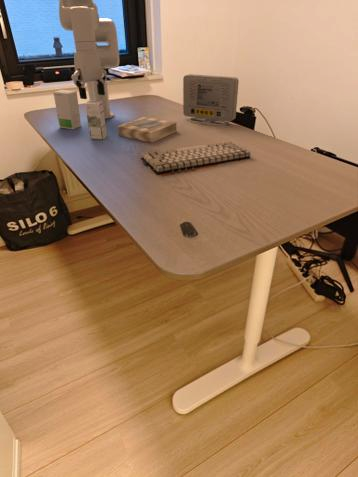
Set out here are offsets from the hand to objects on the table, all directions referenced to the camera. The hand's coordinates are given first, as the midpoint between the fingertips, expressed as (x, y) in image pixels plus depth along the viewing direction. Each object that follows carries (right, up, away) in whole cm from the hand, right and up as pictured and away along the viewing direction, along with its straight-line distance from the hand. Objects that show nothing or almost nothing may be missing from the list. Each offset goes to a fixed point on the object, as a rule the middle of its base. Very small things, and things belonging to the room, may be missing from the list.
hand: (92, 96), depth 133 cm
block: (+36, -55, -51) cm, 83 cm away
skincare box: (-16, -4, +24) cm, 29 cm away
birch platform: (+21, -10, +14) cm, 27 cm away
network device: (+48, 0, +29) cm, 56 cm away
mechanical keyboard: (+40, -28, -11) cm, 50 cm away
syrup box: (0, -14, +10) cm, 17 cm away
